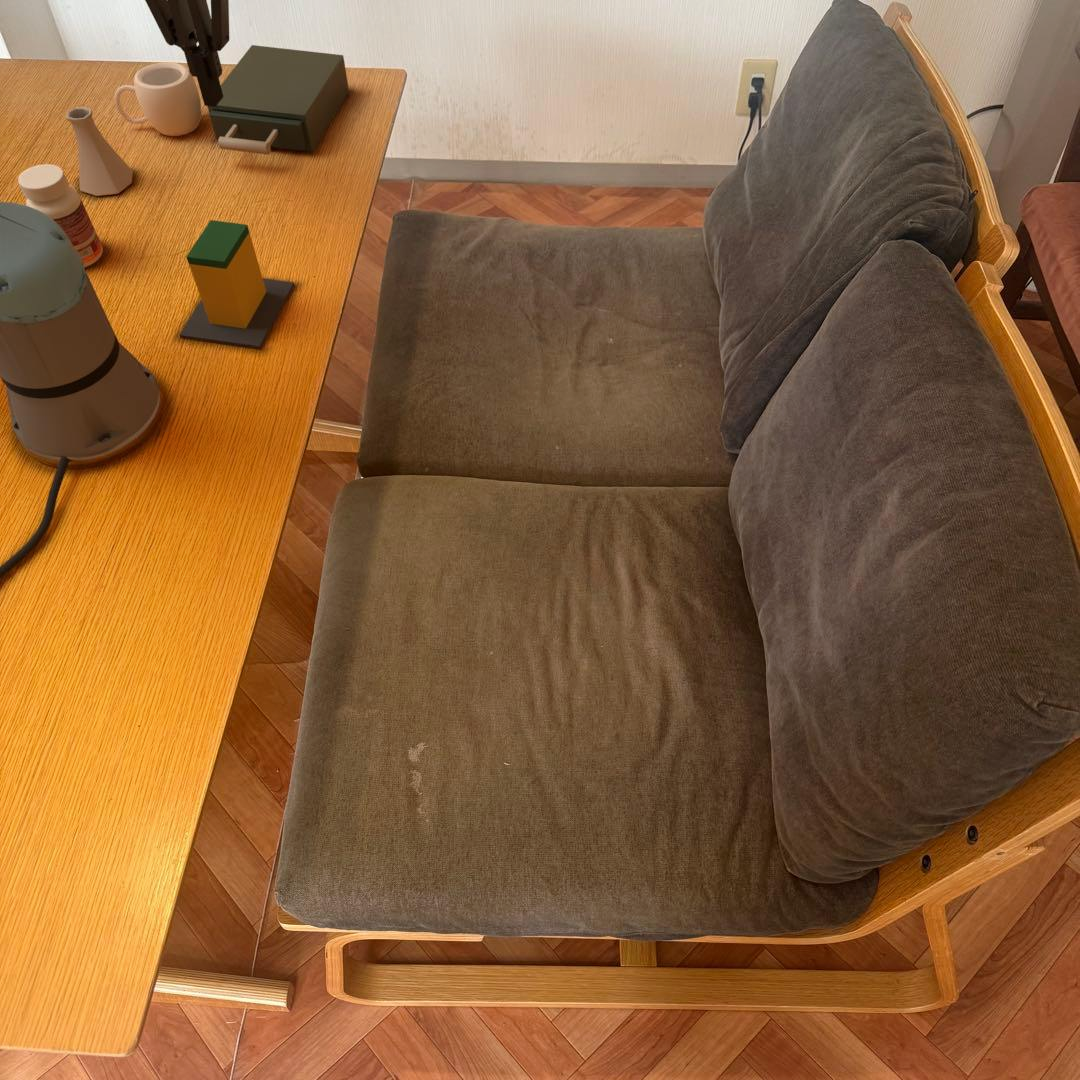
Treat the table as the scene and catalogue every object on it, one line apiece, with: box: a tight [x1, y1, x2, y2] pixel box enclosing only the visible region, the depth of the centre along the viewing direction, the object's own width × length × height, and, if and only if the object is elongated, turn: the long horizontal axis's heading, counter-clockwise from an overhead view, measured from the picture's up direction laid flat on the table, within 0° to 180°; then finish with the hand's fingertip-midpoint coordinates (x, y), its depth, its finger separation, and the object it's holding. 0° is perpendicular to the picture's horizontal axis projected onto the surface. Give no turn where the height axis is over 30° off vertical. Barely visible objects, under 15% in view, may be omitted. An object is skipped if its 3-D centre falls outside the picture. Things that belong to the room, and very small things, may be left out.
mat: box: [179, 277, 296, 350], centre depth 109 cm, size 12×10×1 cm
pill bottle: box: [17, 163, 104, 268], centre depth 110 cm, size 6×6×11 cm
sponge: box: [186, 219, 266, 329], centre depth 105 cm, size 7×4×10 cm, turn 170°
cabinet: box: [206, 44, 350, 153], centre depth 133 cm, size 18×15×6 cm
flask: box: [65, 106, 134, 197], centre depth 120 cm, size 7×7×10 cm
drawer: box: [208, 110, 307, 155], centre depth 131 cm, size 22×13×4 cm, turn 170°
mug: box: [114, 61, 202, 137], centre depth 130 cm, size 12×8×8 cm
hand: (214, 101), depth 117 cm, fingers closed
